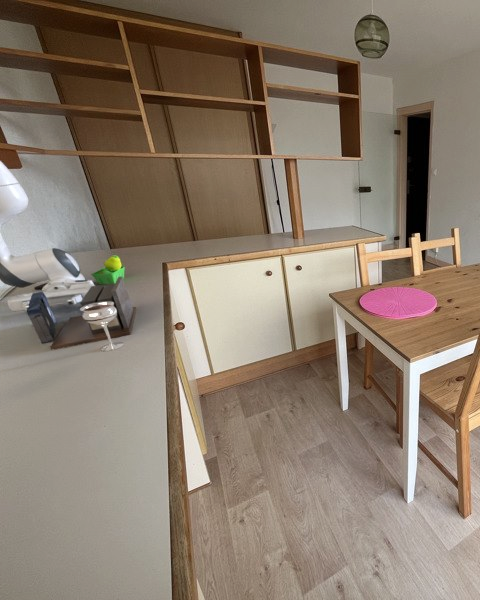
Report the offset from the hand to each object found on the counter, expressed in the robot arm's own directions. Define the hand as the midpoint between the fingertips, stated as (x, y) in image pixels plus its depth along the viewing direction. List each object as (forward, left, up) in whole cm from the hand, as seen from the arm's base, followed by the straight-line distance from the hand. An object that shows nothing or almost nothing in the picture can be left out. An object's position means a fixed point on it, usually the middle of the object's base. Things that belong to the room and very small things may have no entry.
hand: (50, 305), depth 97 cm
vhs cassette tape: (0, -8, -6) cm, 10 cm away
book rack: (+12, -12, -6) cm, 18 cm away
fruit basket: (+10, +42, -6) cm, 43 cm away
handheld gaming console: (-8, +47, -6) cm, 48 cm away
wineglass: (+17, -29, -6) cm, 34 cm away
